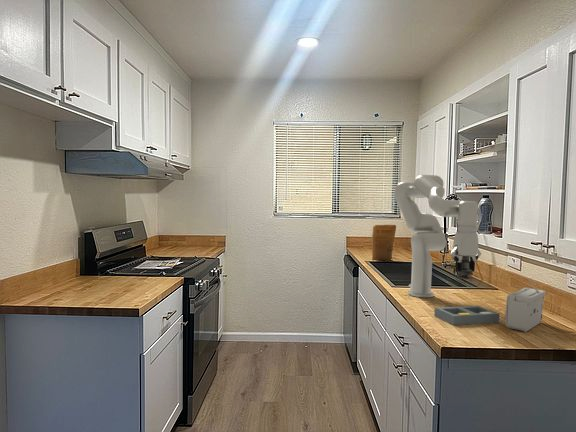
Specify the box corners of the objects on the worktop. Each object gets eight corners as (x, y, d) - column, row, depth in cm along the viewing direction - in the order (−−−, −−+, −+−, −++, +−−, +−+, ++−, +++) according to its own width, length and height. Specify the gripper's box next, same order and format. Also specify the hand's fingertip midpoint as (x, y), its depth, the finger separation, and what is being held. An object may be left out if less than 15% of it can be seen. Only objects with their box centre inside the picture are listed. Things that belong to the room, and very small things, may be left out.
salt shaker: (467, 276, 179) (469, 249, 179) (474, 279, 173) (476, 251, 173) (454, 276, 179) (456, 249, 178) (461, 279, 173) (462, 251, 173)
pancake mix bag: (396, 261, 312) (397, 225, 310) (371, 261, 310) (373, 224, 309) (393, 260, 319) (394, 224, 317) (369, 259, 317) (370, 223, 315)
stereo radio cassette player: (522, 318, 168) (524, 270, 167) (544, 323, 162) (547, 273, 161) (503, 328, 154) (506, 275, 153) (527, 334, 148) (531, 279, 147)
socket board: (434, 316, 167) (435, 306, 167) (477, 313, 173) (478, 304, 172) (453, 325, 156) (454, 315, 155) (499, 322, 161) (499, 312, 161)
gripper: (477, 229, 181) (475, 269, 182) (444, 228, 176) (442, 270, 177) (489, 230, 174) (487, 272, 175) (455, 230, 169) (453, 273, 170)
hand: (464, 270), depth 176 cm, fingers closed on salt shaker, 5 cm apart
